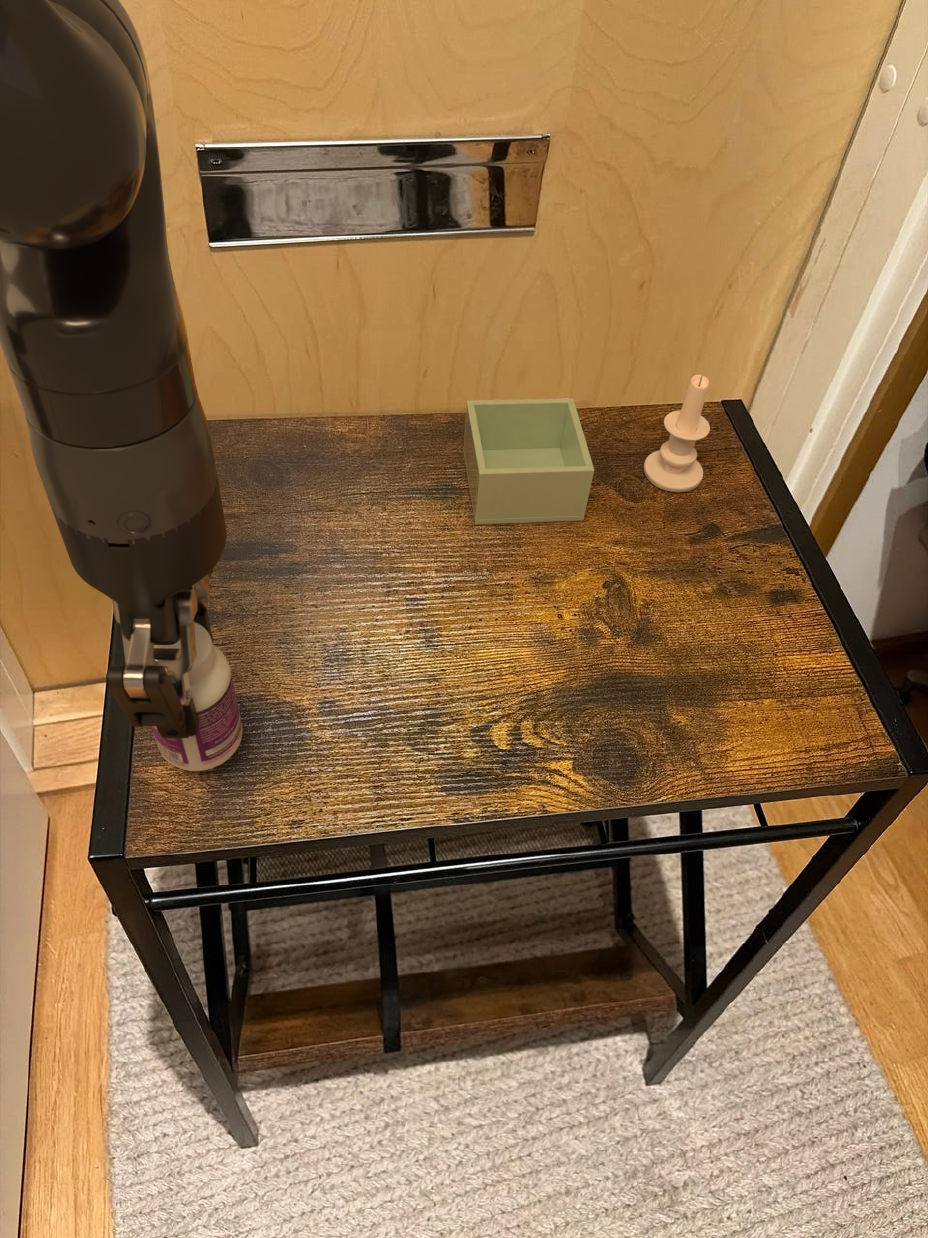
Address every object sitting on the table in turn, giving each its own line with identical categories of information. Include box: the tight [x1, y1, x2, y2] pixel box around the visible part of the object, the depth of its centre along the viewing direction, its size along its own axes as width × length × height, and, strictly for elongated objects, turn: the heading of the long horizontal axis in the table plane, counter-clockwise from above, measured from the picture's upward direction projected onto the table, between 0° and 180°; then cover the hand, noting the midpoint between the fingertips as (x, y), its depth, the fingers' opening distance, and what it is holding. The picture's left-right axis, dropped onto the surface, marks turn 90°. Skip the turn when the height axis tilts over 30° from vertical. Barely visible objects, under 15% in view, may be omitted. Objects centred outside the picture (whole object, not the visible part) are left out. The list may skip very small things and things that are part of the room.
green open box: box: [462, 397, 595, 526], centre depth 79 cm, size 9×9×6 cm
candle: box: [642, 374, 711, 493], centre depth 79 cm, size 5×5×10 cm
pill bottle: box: [150, 622, 243, 772], centre depth 57 cm, size 5×5×10 cm
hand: (187, 688), depth 56 cm, fingers closed on pill bottle, 5 cm apart
